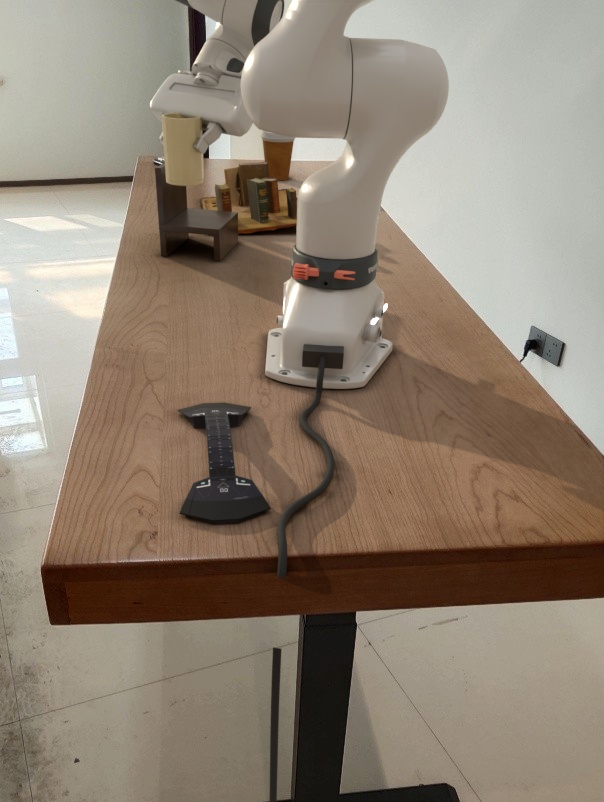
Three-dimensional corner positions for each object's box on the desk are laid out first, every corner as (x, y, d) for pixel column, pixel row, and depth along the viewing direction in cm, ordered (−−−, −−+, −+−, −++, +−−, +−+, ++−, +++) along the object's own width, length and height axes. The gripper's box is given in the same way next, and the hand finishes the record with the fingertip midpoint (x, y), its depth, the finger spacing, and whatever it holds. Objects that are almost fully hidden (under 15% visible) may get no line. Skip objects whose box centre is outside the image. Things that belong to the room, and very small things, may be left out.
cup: (197, 187, 122) (194, 119, 116) (160, 184, 123) (156, 117, 117) (208, 179, 127) (206, 114, 121) (173, 176, 128) (169, 111, 122)
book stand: (316, 237, 159) (312, 162, 150) (207, 251, 157) (196, 176, 148) (293, 197, 187) (288, 132, 178) (201, 209, 185) (191, 143, 176)
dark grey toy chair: (220, 261, 142) (217, 172, 133) (160, 255, 144) (154, 167, 135) (238, 242, 154) (237, 159, 145) (183, 237, 155) (179, 154, 146)
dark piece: (250, 405, 93) (249, 381, 91) (272, 521, 73) (272, 493, 71) (177, 408, 92) (176, 383, 90) (180, 526, 72) (178, 498, 70)
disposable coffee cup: (301, 178, 209) (302, 131, 202) (278, 183, 203) (279, 135, 196) (276, 173, 214) (277, 127, 207) (253, 177, 208) (253, 130, 201)
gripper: (165, 55, 124) (126, 125, 124) (257, 66, 115) (216, 142, 114) (185, 83, 130) (148, 151, 129) (274, 96, 120) (235, 169, 119)
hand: (180, 147), depth 121 cm, fingers closed on cup, 6 cm apart
